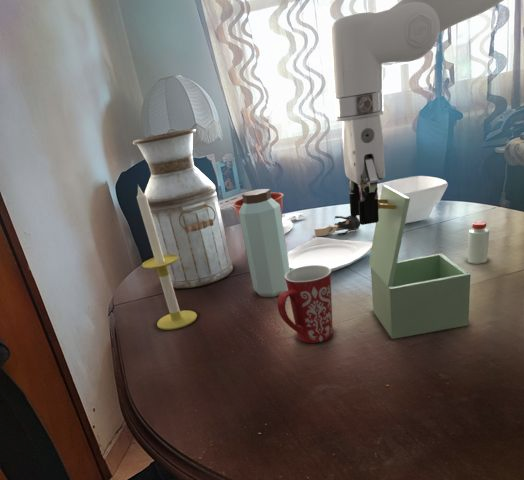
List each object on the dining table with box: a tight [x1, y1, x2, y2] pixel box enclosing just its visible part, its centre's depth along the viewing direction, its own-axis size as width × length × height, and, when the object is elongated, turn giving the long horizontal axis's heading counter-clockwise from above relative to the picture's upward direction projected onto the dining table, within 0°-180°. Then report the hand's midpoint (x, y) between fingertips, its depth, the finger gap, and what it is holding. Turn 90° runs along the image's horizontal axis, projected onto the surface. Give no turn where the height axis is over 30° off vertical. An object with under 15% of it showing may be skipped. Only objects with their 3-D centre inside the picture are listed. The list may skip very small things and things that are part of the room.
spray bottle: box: [282, 213, 305, 235], centre depth 173 cm, size 3×11×24 cm
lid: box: [368, 185, 410, 287], centre depth 85 cm, size 15×13×5 cm
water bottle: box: [238, 188, 290, 298], centre depth 114 cm, size 10×10×25 cm
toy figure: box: [313, 214, 361, 237], centre depth 153 cm, size 7×6×15 cm
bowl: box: [377, 175, 449, 224], centre depth 151 cm, size 22×22×12 cm
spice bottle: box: [467, 220, 490, 264], centre depth 112 cm, size 4×4×9 cm
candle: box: [136, 184, 198, 331], centre depth 106 cm, size 10×10×32 cm
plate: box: [287, 236, 373, 273], centre depth 133 cm, size 24×24×3 cm
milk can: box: [132, 128, 234, 289], centre depth 132 cm, size 24×21×40 cm
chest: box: [370, 253, 472, 340], centre depth 91 cm, size 15×13×10 cm
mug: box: [277, 265, 334, 344], centre depth 91 cm, size 13×9×14 cm
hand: (364, 217), depth 83 cm, fingers closed on lid, 6 cm apart
